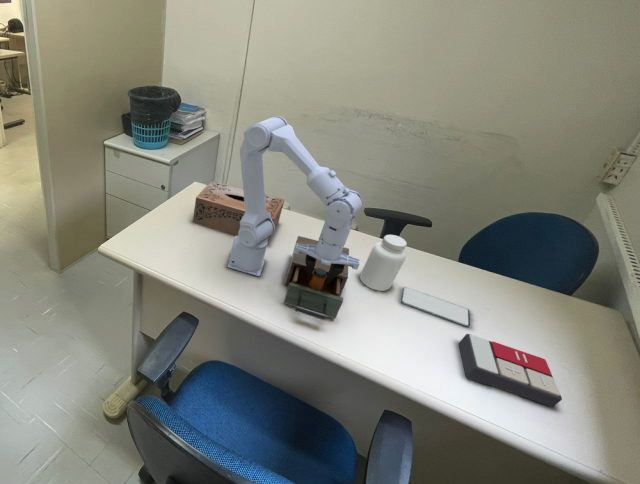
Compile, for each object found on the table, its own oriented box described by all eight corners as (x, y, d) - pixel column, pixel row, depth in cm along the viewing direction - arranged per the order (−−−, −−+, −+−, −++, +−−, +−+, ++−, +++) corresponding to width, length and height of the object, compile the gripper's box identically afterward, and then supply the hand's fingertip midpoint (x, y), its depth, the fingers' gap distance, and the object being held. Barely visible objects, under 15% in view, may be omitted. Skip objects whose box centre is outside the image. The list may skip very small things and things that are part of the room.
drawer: (334, 332, 96) (342, 314, 93) (280, 315, 101) (286, 296, 97) (337, 288, 109) (344, 270, 106) (289, 274, 114) (295, 257, 110)
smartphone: (470, 326, 99) (401, 301, 106) (469, 327, 99) (400, 302, 106) (469, 309, 104) (403, 286, 111) (468, 311, 104) (403, 288, 111)
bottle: (307, 287, 103) (312, 273, 100) (309, 279, 106) (313, 265, 103) (322, 291, 102) (327, 277, 99) (323, 283, 104) (328, 269, 102)
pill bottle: (394, 293, 109) (417, 250, 101) (363, 289, 111) (383, 246, 102) (385, 275, 116) (405, 233, 107) (355, 271, 117) (374, 229, 109)
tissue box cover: (277, 224, 137) (284, 199, 132) (267, 245, 127) (273, 219, 121) (208, 204, 148) (211, 180, 143) (192, 222, 138) (196, 197, 132)
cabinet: (338, 300, 107) (347, 277, 102) (285, 284, 112) (292, 262, 107) (340, 270, 117) (349, 248, 112) (291, 257, 122) (298, 235, 117)
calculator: (566, 398, 79) (476, 365, 85) (551, 409, 82) (465, 377, 87) (548, 357, 87) (467, 330, 93) (535, 369, 90) (458, 342, 95)
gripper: (299, 239, 95) (285, 281, 103) (366, 256, 90) (347, 299, 97) (302, 224, 100) (289, 266, 108) (365, 240, 95) (347, 282, 103)
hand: (317, 281), depth 103 cm, fingers closed on bottle, 3 cm apart
